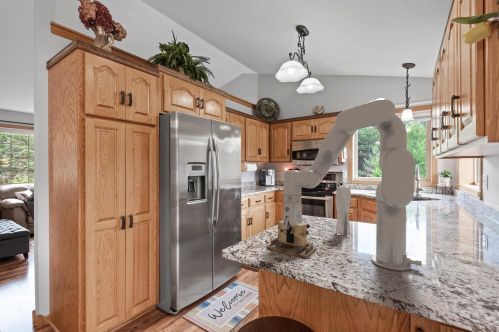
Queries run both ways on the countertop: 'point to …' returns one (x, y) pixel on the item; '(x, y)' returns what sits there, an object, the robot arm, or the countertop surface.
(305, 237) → the door panel
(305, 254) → the cabinet base
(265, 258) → the countertop surface
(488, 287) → the countertop surface
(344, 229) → the cheese grater
